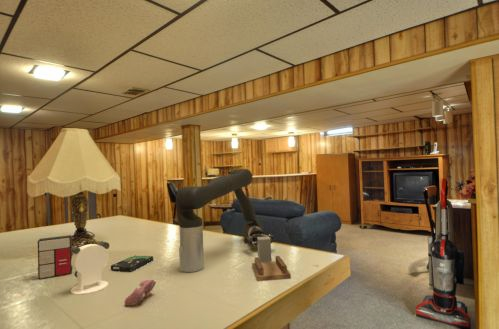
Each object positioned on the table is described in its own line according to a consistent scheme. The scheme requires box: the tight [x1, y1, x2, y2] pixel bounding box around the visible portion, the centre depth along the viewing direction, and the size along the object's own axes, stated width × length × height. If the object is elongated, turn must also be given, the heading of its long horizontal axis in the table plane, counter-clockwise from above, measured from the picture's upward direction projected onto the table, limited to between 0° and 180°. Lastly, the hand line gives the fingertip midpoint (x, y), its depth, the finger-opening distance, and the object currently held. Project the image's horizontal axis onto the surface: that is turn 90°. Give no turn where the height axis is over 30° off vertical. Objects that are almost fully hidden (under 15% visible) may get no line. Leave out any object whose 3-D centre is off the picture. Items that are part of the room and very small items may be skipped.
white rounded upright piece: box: [70, 240, 110, 296], centre depth 101 cm, size 12×11×15 cm
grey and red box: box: [37, 234, 73, 280], centre depth 114 cm, size 11×4×15 cm, turn 118°
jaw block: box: [256, 235, 273, 263], centre depth 121 cm, size 5×5×10 cm
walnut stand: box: [251, 255, 292, 282], centre depth 108 cm, size 12×15×4 cm
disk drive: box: [110, 255, 154, 273], centre depth 123 cm, size 10×3×15 cm
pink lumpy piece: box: [124, 278, 157, 307], centre depth 89 cm, size 10×5×7 cm, turn 169°
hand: (260, 242), depth 130 cm, fingers open, 8 cm apart
